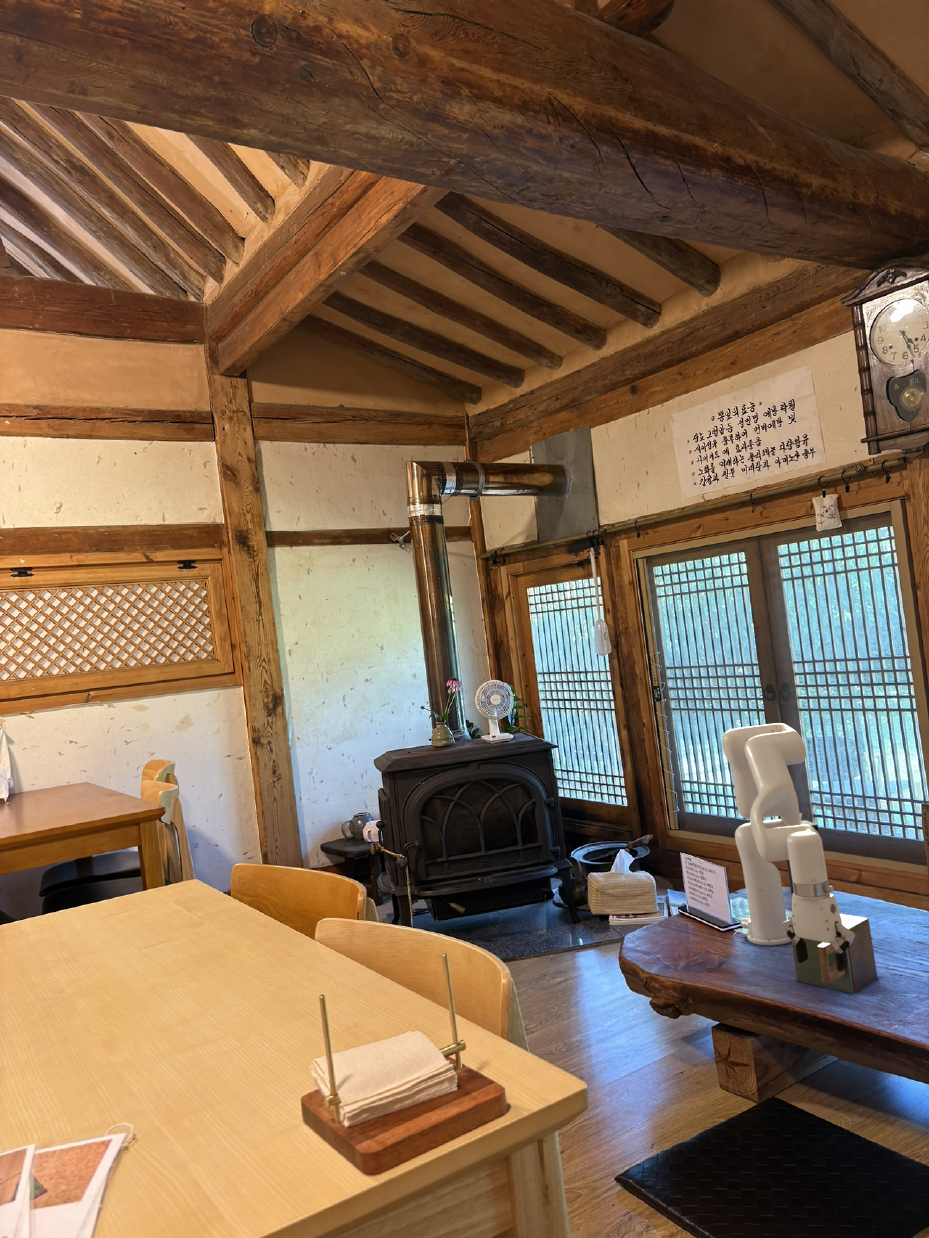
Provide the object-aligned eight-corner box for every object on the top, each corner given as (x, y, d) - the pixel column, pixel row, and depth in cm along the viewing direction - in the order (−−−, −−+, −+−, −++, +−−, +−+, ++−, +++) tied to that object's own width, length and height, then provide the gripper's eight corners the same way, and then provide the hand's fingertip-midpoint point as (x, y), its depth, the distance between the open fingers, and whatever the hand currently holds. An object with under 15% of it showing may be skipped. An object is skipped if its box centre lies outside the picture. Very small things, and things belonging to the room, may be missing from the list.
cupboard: (855, 992, 204) (846, 930, 205) (800, 979, 215) (791, 921, 216) (877, 978, 210) (868, 918, 211) (822, 966, 221) (814, 909, 222)
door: (835, 1004, 199) (826, 942, 200) (780, 990, 210) (771, 931, 211) (854, 992, 204) (845, 931, 204) (799, 979, 215) (791, 922, 215)
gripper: (856, 888, 197) (868, 967, 196) (786, 879, 211) (797, 953, 210) (838, 897, 193) (850, 978, 192) (768, 888, 206) (779, 963, 206)
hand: (822, 965), depth 201 cm, fingers open, 9 cm apart
